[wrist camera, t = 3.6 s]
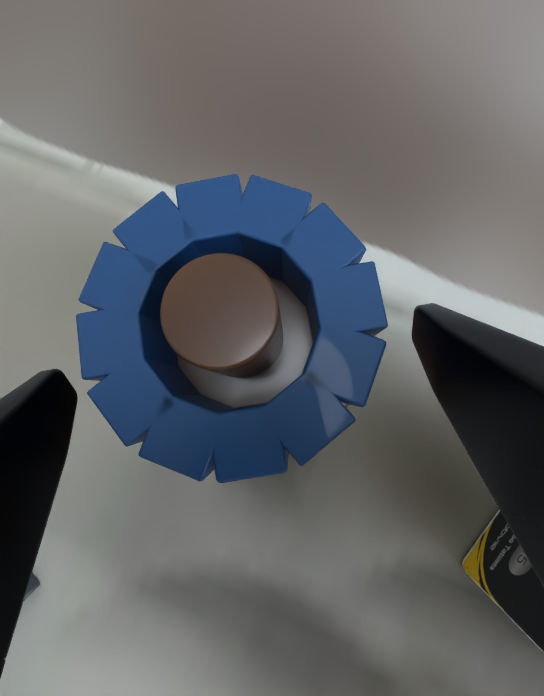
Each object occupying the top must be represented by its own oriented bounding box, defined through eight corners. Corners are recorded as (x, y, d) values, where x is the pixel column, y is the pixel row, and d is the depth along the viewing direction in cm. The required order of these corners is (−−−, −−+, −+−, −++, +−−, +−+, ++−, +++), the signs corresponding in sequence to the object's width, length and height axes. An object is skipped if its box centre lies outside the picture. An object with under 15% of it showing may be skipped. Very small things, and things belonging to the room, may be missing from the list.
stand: (393, 379, 17) (554, 358, 7) (240, 492, 17) (156, 657, 6) (281, 236, 18) (268, 27, 8) (138, 340, 18) (-77, 267, 7)
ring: (337, 206, 11) (351, 150, 8) (384, 437, 10) (415, 453, 7) (115, 246, 11) (63, 204, 9) (141, 477, 10) (92, 504, 8)
